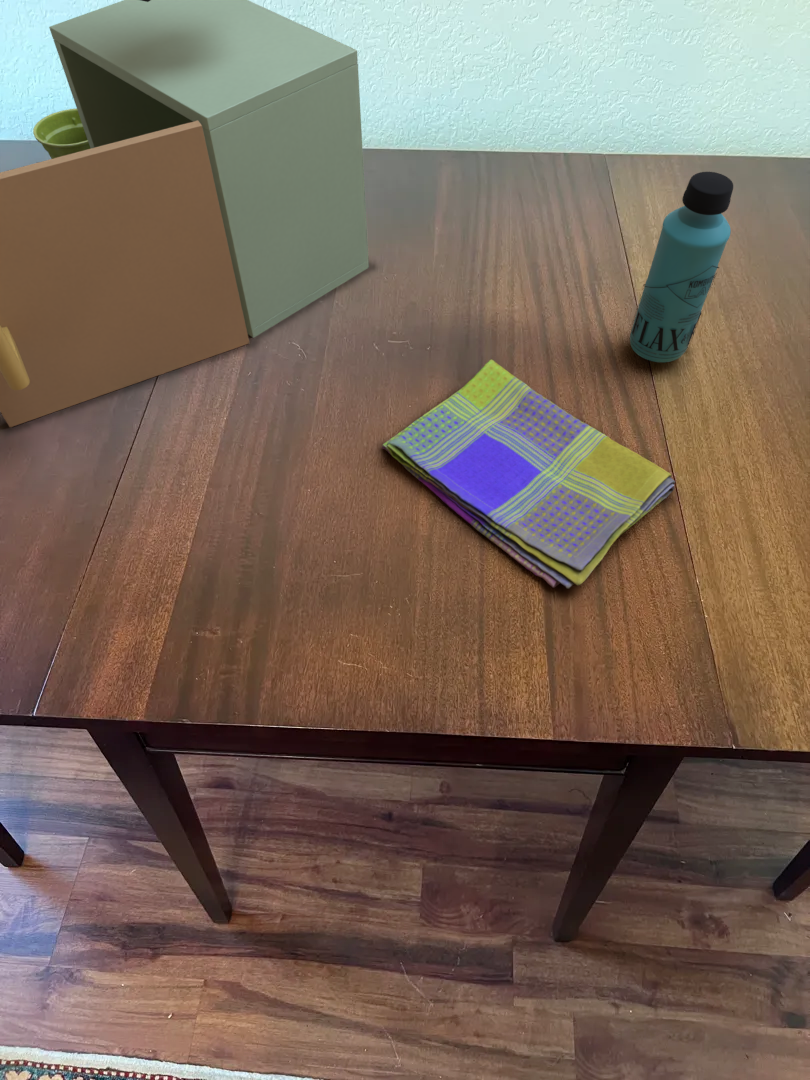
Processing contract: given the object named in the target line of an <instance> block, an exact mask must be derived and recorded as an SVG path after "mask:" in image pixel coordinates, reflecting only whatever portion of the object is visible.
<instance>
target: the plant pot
mask: <svg viewBox="0 0 810 1080" xmlns="http://www.w3.org/2000/svg"><path fill="white" fill-rule="evenodd" d="M32 133H33V136H34V139H35V140H36V141H37V142H38V143H40V144H41V145H42V147H43V149H44V150H45V151H46V152H47V153H48V155H49V157H50V159H54V158H57V157H61V156H65V155H69V154H73V153H76V152H80V151H84V150H88V149H91V148H90V145H89V142H88V139H87V136H86V134H85V131H84V128H83V125H82V122H81V119H80V116H79V113H78V110H77V107H76V108H69V109H64V110H59V111H56V112H53V113H51V114H48V115H46V116H44V117H43V118H41V119H40V120H39V121H37V122H36V123H35V125H34V127H33V129H32Z"/></svg>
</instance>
